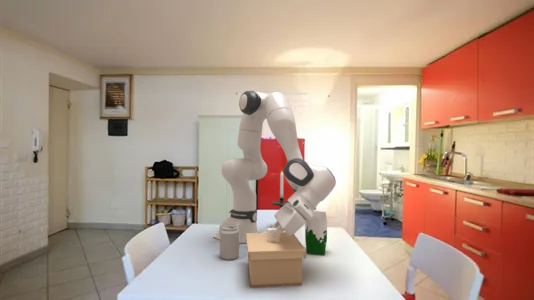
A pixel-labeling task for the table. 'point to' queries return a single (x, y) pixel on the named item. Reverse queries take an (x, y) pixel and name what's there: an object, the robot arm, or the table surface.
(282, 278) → the carton
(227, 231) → the can
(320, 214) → the milk carton
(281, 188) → the candlestick
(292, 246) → the carton lid
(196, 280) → the table surface
